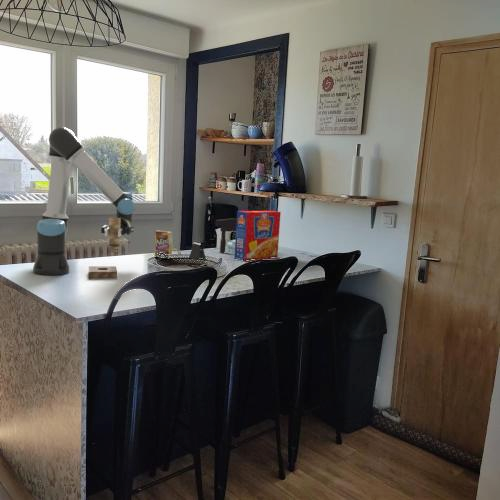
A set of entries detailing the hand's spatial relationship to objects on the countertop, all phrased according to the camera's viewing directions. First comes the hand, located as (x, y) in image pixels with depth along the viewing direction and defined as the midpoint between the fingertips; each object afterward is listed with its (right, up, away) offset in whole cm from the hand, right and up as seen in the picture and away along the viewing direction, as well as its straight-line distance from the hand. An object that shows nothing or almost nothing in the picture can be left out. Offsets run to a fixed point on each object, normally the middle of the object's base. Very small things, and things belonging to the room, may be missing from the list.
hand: (112, 233), depth 208 cm
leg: (-1, -8, +7) cm, 10 cm away
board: (-8, -19, +13) cm, 24 cm away
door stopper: (+31, -16, +49) cm, 60 cm away
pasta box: (+62, -13, +81) cm, 103 cm away
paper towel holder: (+49, -8, +103) cm, 114 cm away
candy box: (+10, -12, +63) cm, 65 cm away
